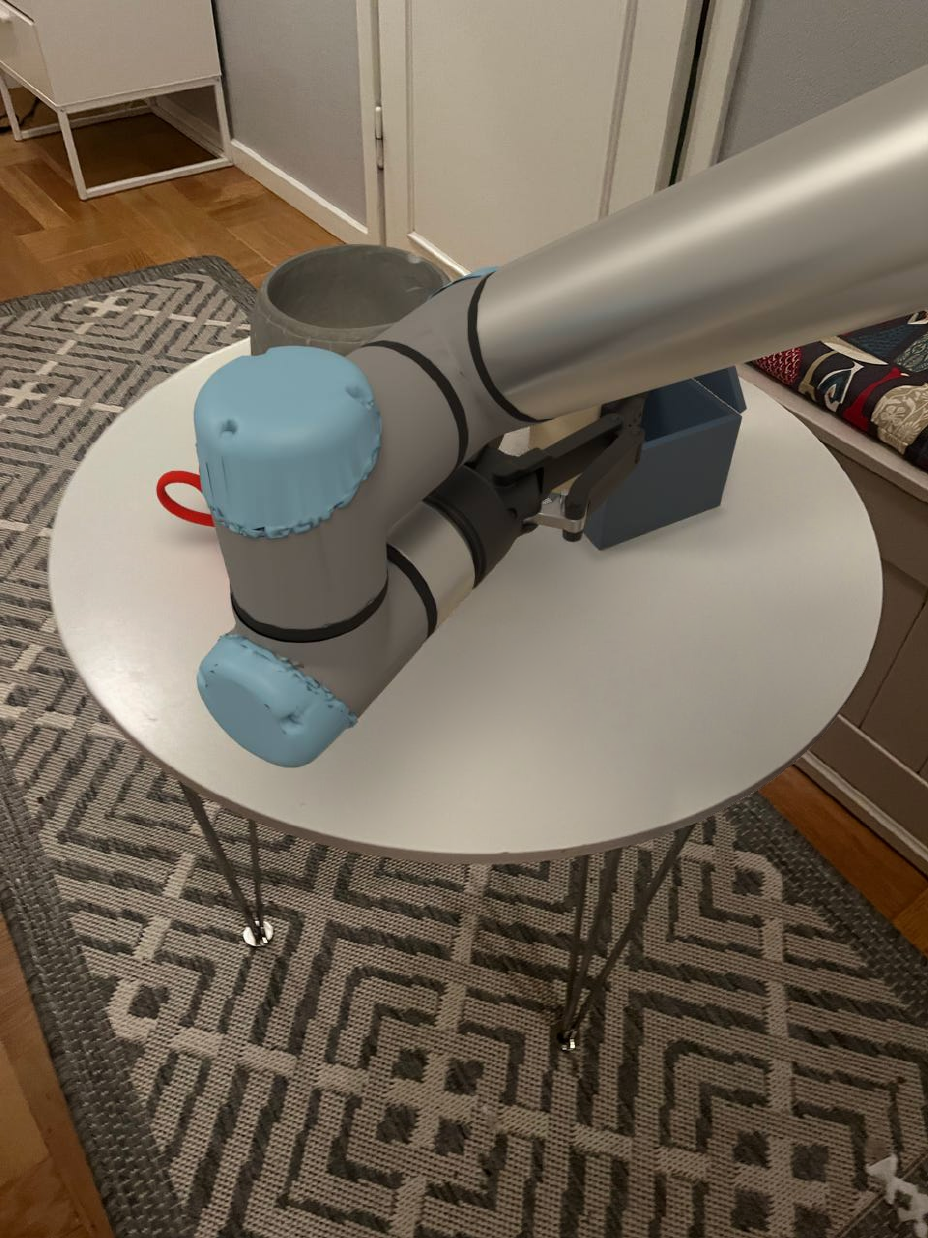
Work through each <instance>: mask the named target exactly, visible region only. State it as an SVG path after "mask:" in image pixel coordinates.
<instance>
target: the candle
mask: <svg viewBox="0 0 928 1238" xmlns="http://www.w3.org/2000/svg"><path fill="white" fill-rule="evenodd" d="M602 405H603V404H601V405H598V406H595V407H591V408H588V409H584V410H581V411H577V412H574V413H571V414H567V415H564V416H560V417H557V418H555V419H553V420H550V421H547V422H543V423H540V424H537V425H533V426H530V427H529V434H530V436H528V449H529V450H531V449H533V448H535V447H539V448H540V449H542V450H543V449H545V448H547V447H549V446H550V445H552V444H554V443H556V442H558V441H560V440H562V439H563V438H565V437H567V436H569V435H571V434H573V433H574V432H576V431H578V430H580V429H582V428H584V427H585V426H587V425H589V424H591V423H593V422H595V421H597V420H598V419H600V414H601V406H602ZM581 474H582V473H581ZM581 474H579V475H578V476H576V477H574V478H572V479H571V480H569V481H567V482H565V483H564V484H562V485H560V486H558V487H557V488H555V489H553V490H552V491H551V492H553V493H558V494H560V491H561V490H564V489H566V490H570V487H571V485H572V484H573V482H574V481H575V480H576V479H577V478H578V477H579V476H580V475H581Z"/></svg>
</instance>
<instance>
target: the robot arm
mask: <svg viewBox="0 0 928 1238" xmlns="http://www.w3.org/2000/svg"><path fill="white" fill-rule="evenodd" d="M926 310H928V63H927V64H925V65H922V66H920V67H918V68H916V69H914V70H912V71H909V72H908V73H906V74H903V75H901V76H899V77H897V78H895V79H893V80H891V81H889V82H887V83H884V84H881V85H880V86H878V87H876V88H874V89H872V90H869V91H867V92H866V93H864V94H861V95H859V96H857V97H855V98H853V99H851V100H848V101H847V102H843V103H842V104H840V105H838V106H836V107H834V108H831V109H830V110H827V111H826V112H823V113H822V114H819V115H817V116H815V117H813V118H811V119H809V120H807V121H804V122H802V123H800V124H798V125H796V126H793V127H792V128H790V129H788V130H785V131H783V132H781V133H779V134H777V135H774V136H773V137H771V138H769V139H767V140H764V141H762V142H760V143H758V144H756V145H754V146H752V147H749V148H747V149H746V150H743V151H741V152H739V153H737V154H735V155H732V156H731V157H729V158H728V157H727V159H725V160H724V159H723V160H722V161H720V162H718V163H716V164H714V165H711V166H710V167H707V168H705V169H703V170H701V171H699V172H697V173H695V174H693V175H690V176H688V177H687V178H684V179H682V180H680V181H678V182H676V183H674V184H672V185H670V186H667V187H665V188H664V189H660V190H659V191H656V192H654V193H653V194H651V195H649V196H647V197H644V198H642V199H640V200H638V201H636V202H634V203H632V204H629V205H627V206H625V207H623V208H621V209H619V210H617V211H615V212H612V213H611V214H609V215H606V216H604V217H602V218H600V219H598V220H595V221H594V222H592V223H589V224H587V225H586V226H583V227H581V228H579V229H577V230H575V231H573V232H571V233H570V232H569V234H567V235H564V236H562V237H560V238H558V239H556V240H553V241H552V242H549V243H547V244H545V245H543V246H541V247H539V248H537V249H535V250H532V251H530V252H528V253H526V254H523V255H522V256H520V257H518V258H515V259H514V260H511V261H509V262H508V263H506V264H503V265H500V266H498V265H497V266H485V267H482V268H479V269H476V270H475V271H472V272H470V273H469V274H466V275H463V276H461V277H458V278H457V279H455V280H453V281H451V283H449V284H448V285H446V286H444V287H443V288H441V289H439V290H438V291H436V292H435V293H433V294H432V295H431V296H430V297H429V298H428V299H427V301H426V302H425V303H424V304H422V305H421V306H420V307H418V308H417V309H415V310H414V311H413V312H411V313H410V314H408V315H407V316H406V317H404V318H403V319H401V320H400V321H398V322H397V323H396V324H394V325H393V326H391V327H390V328H389V329H387V330H386V331H384V332H383V333H382V334H380V335H379V336H377V337H376V338H375V339H373V340H372V341H370V342H369V343H368V344H365V345H362V346H361V347H360V348H358V349H356V350H355V351H353V352H352V353H350V354H349V355H347V356H346V357H343V356H341V355H339V354H337V353H334V352H331V351H328V350H324V349H320V348H315V347H304V346H281V347H274V348H269V349H268V350H267V352H266V353H265V354H262V355H258V356H251V355H249V354H248V355H247V354H246V355H240V356H238V357H236V358H234V359H232V360H230V361H229V362H227V363H225V364H224V365H222V366H220V367H219V368H218V369H217V370H216V371H214V372H213V373H212V374H211V375H209V377H208V379H207V380H205V383H203V385H202V386H201V387H200V390H199V392H198V394H197V397H196V398H195V402H194V406H193V407H194V408H193V425H194V432H195V450H196V454H197V460H198V461H197V462H198V467H199V466H200V474H199V475H200V481H201V487H202V493H201V494H202V496H203V498H204V500H205V502H206V506H207V509H209V512H210V514H211V516H212V519H213V523H214V526H215V527H214V530H215V533H216V536H217V540H218V544H219V548H220V550H221V554H222V559H223V562H224V566H225V569H226V573H227V576H228V580H229V597H230V606H231V611H232V615H233V618H234V627H233V628H231V630H230V631H228V632H226V633H224V634H222V635H220V636H219V639H217V641H216V643H215V644H214V645H213V646H212V648H211V649H210V650H209V651H208V652H207V653H206V655H205V656H203V658H202V660H201V662H200V665H199V668H198V672H197V673H196V686H197V689H198V693H199V696H200V697H201V700H202V702H203V705H204V706H205V708H206V709H207V711H208V713H209V714H210V716H211V717H212V718H213V719H214V721H215V722H216V724H218V726H219V727H220V728H221V730H223V731H224V732H225V733H226V734H227V735H228V737H230V739H232V740H233V741H235V743H237V744H238V746H240V747H241V748H242V749H244V750H246V751H247V752H249V753H250V754H252V755H254V756H256V757H257V758H259V759H261V760H262V761H264V762H265V763H268V764H271V765H274V766H277V767H282V768H288V769H289V768H290V769H295V768H301V767H306V766H307V765H309V764H311V763H314V762H315V761H316V760H317V759H318V758H319V757H320V756H321V755H322V754H323V753H324V752H325V751H326V750H327V749H328V748H329V747H330V746H331V745H332V744H333V743H334V742H335V741H336V740H337V739H338V738H339V737H340V736H341V735H342V734H343V733H344V732H345V731H346V730H347V729H351V728H354V726H355V725H356V724H357V723H358V721H359V719H360V718H361V716H362V715H363V714H364V713H365V712H366V710H367V709H369V707H370V706H371V705H372V704H373V703H374V702H375V701H376V699H377V698H378V697H380V695H381V693H383V691H384V690H386V688H387V687H388V686H389V685H390V684H391V682H392V681H393V680H394V679H395V678H396V677H397V676H398V674H399V673H400V672H401V671H402V670H403V669H404V668H405V667H406V665H407V664H408V663H409V662H410V661H411V659H413V657H414V656H415V655H416V654H417V653H418V652H419V651H420V649H421V648H422V647H423V645H424V644H425V643H426V642H427V641H428V640H429V638H431V636H433V635H434V634H435V632H437V631H438V629H439V628H440V627H441V626H442V625H443V624H444V623H445V622H446V620H448V619H449V618H450V617H451V615H452V614H453V613H454V612H455V610H457V609H458V608H459V606H460V605H462V603H463V602H464V601H465V600H466V599H467V598H468V596H469V595H470V594H471V592H472V591H473V590H475V589H476V588H477V587H478V586H479V585H480V584H481V583H482V582H483V581H484V580H485V579H486V578H487V577H488V576H489V574H490V573H491V572H492V571H493V570H494V569H495V568H496V566H498V564H500V562H501V561H502V560H504V558H505V556H506V555H508V553H509V551H510V550H511V548H512V546H513V545H514V544H515V542H516V541H517V539H519V538H521V537H522V536H524V535H526V534H529V533H532V532H534V531H535V530H536V529H537V528H538V527H539V526H542V527H547V528H554V529H560V530H562V532H561V533H562V534H561V536H562V538H563V540H565V541H566V542H569V543H577V542H580V540H582V538H583V535H584V533H583V532H584V528H585V524H586V521H587V519H588V518H589V517H590V516H591V515H592V514H593V513H594V512H595V511H596V510H597V509H598V508H599V507H600V506H601V505H602V504H603V502H604V501H605V500H606V499H607V498H608V497H609V496H610V495H611V494H612V493H613V492H614V491H615V490H616V489H617V488H618V487H619V486H620V485H621V484H622V483H623V481H624V480H625V479H626V478H627V477H628V476H629V475H630V474H631V473H632V472H633V471H634V470H635V469H636V468H637V467H638V466H639V464H640V459H641V453H642V447H643V441H644V435H645V431H644V430H643V429H642V428H640V427H637V425H638V424H639V423H640V422H641V417H642V411H643V405H644V402H645V401H646V400H647V399H648V395H649V390H653V389H656V388H660V387H663V386H666V385H670V384H673V383H677V382H680V381H683V380H687V379H690V378H694V377H697V376H701V375H704V374H707V373H711V372H714V371H718V370H721V369H725V368H728V367H731V366H735V367H736V366H738V365H741V364H745V363H748V362H752V361H755V360H758V359H761V358H762V359H763V358H765V357H768V356H772V355H776V354H779V353H782V352H786V351H789V350H792V349H796V348H800V347H803V346H807V345H809V344H812V343H816V342H817V343H818V342H820V341H824V340H827V339H829V338H834V337H837V336H841V335H844V334H848V333H851V332H854V331H858V330H861V329H864V328H868V327H872V326H876V325H878V324H881V323H885V322H888V321H892V320H895V319H899V318H902V317H907V316H909V315H913V314H916V313H919V312H920V313H921V312H922V311H926ZM601 404H603V405H602V406H601V414H600V419H598V420H597V421H595V422H593V423H591V424H589V425H587V426H585V427H584V428H582V429H580V430H578V431H576V432H574V433H573V434H571V435H569V436H567V437H565V438H563V439H562V440H560V441H558V442H556V443H554V444H552V445H550V446H549V447H547V448H545V449H543V450H542V449H540V448H539V447H535V448H533V449H531V450H529V451H526V452H524V453H522V454H520V455H513V454H508V453H505V452H504V451H502V450H500V449H499V448H500V446H501V444H502V443H503V440H504V438H505V435H506V434H509V433H513V432H517V431H519V430H522V429H526V428H530V426H533V425H537V424H540V423H543V422H547V421H550V420H553V419H555V418H557V417H560V416H564V415H567V414H571V413H574V412H577V411H581V410H584V409H588V408H591V407H595V406H598V405H601ZM581 473H582V474H581ZM579 474H581V475H580V476H579V477H578V478H577V479H576V480H575V481H574V482H573V484H572V485H571V487H570V490H566V489H564V490H561V491H560V496H559V497H557V498H556V499H555V500H554V501H551V502H547V503H544V502H545V501H546V500H547V499H548V498H549V495H550V493H551V491H552V490H553V489H555V488H557V487H558V486H560V485H562V484H564V483H565V482H567V481H569V480H571V479H572V478H574V477H576V476H578V475H579Z"/></svg>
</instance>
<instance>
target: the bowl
mask: <svg viewBox="0 0 928 1238" xmlns="http://www.w3.org/2000/svg"><path fill="white" fill-rule="evenodd" d="M451 282H452V280H451V279H450V277H449V275H448V274H447V273H446V272H445V271H444V270H443V269H441V268H440V266H438V265H436V264H435V263H434V262H432V261H431V260H429V259H427V258H425V257H423V256H420V255H417V254H415V253H413V252H411V251H409V250H406V249H405V250H404V249H401V248H397V247H392V246H387V245H381V244H369V243H341V244H334V245H327V246H320V247H316V248H315V247H314V248H312V249H308V250H305V251H303V252H300V253H297V254H295V255H293V256H291V257H288V258H286V259H285V260H283V261H281V262H280V263H278V264H277V265H275V266H274V267H273V268H271V269H270V270H269V271H268V272H267V273H266V275H265V276H264V278H263V280H262V281H261V283H260V284H259V287H258V290H257V293H256V296H255V300H254V304H253V307H252V312H251V319H250V324H249V325H250V326H249V327H250V329H249V338H250V339H249V344H250V356H258V355H262V354H265V353H266V352H267V350H268V349H269V348H274V347H281V346H304V347H315V348H320V349H324V350H328V351H331V352H334V353H337V354H339V355H341V356H343V357H346V356H347V355H349V354H350V353H352V352H353V351H355V350H356V349H358V348H360V347H361V346H362V345H365V344H368V343H369V342H370V341H372V340H373V339H375V338H376V337H377V336H379V335H380V334H382V333H383V332H384V331H386V330H387V329H389V328H390V327H391V326H393V325H394V324H396V323H397V322H398V321H400V320H401V319H403V318H404V317H406V316H407V315H408V314H410V313H411V312H413V311H414V310H415V309H417V308H418V307H420V306H421V305H422V304H424V303H425V302H426V301H427V299H428V298H429V297H430V296H431V295H432V294H433V293H435V292H436V291H438V290H439V289H441V288H443V287H444V286H446V285H448V284H449V283H451Z"/></svg>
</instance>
